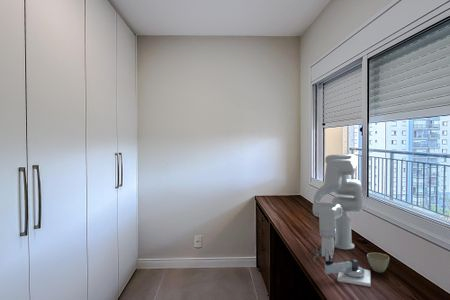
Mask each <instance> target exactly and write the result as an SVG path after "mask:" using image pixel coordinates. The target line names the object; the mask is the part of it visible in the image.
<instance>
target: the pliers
mask: <svg viewBox="0 0 450 300" xmlns="http://www.w3.org/2000/svg"><path fill="white" fill-rule="evenodd" d="M315 252H316V254H315V256H314V257H312V261H313V262H314V263H316V258H317V257H318V256H320V255H321V256H322V247H320V249H319V250H318V248H317V247H315ZM324 257H325V256H324ZM324 257H323V258H324Z"/></svg>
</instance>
